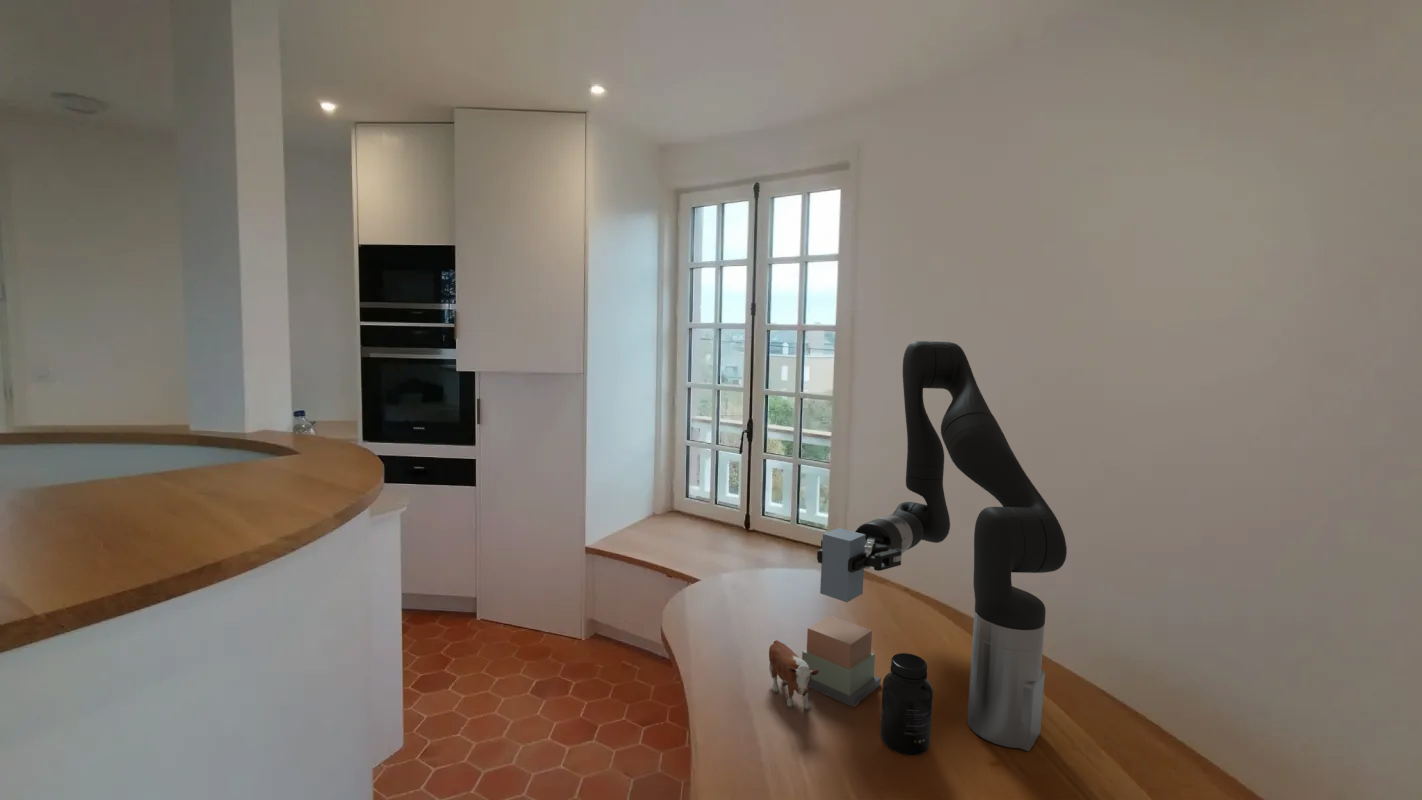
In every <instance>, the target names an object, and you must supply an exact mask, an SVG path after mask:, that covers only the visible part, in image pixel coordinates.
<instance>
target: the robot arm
mask: <svg viewBox="0 0 1422 800" xmlns="http://www.w3.org/2000/svg"><path fill="white" fill-rule="evenodd" d="M902 358H903V359H902V384H903V385H902V387H903V400H904V413H905V414H904V415H905V423H906V436H907V437H906V439H907V441H906V442H907V447H906V448H907V452H906V453H907V454H906V466H905V467H906V469H905V471H906V472H905V486H906V488H907V490H909V491H911V492H912V493H915V494H917V495H919V496H920V497H922V498H923V499H924V501H925V503H926V504H925V503H918V502H914V501H904V502H901V503H899V504H898V505H897V507H896V508H895V510H894V511H893V513H892V514H889V515H885V516H880V517H878V518H876V519H873V520H871V521H868V522H866V523H863V524H861V525H860V526H858V528H856V530H855V531H854V532H857V533H861V534H865V535H866V536H865V551H863V554H858V555H856V556H854V557H852V558H850V559H849V560H848V572H851V573H854V572H856V571H859V570H861V569H863V568H864V570H869V569H870V568H871V567H872V568H873V570H874V571H877V572H882V571H883V570H888V569H891V568H895V567H896V568H897V567H900V566H902V556H903V554H904V553H906V552H907V551H908V550H910V549H912V548H914V547H915V546H917V545H918V544H919V543H920V542H921V541H926V542H929V543H934V544H938V543H942V542H944V540H945V539H947V537H948V535H949V533H950V528H951V520H950V515H949V514H950V513H949V510H948V505H947V501H946V498H945V497H946V496H945V492H944V471H945V469H944V468H945V450H944V446H943V444H942V441H943V443H944V445H945V448H946V450H947V452H948V455H949V457H950V459H951V461H952V463H953V465H954V466H955V467H956V468H957V469H958V470H959V471H960V472H961V473H962V474H964V475H965V476H966V477H967V478H968V479H969V480H971V481H972V482H974V483H975V484H977V485H978V486H980V488H982V489H983V490H985V491H986V492H988V493H989V494H990V495H992V497H994V499H996V500H997V501H998V502H999V503H1000V504H1001V506H988V507H987V506H986V507H985V508H983V509H982V510H980V512H979V514H978V515H977V517H976V521H975V524H974V525H975V526H974V534H973V592H974V612H973V613H974V614H973V628H972V644H971V657H970V659H971V660H970V671H969V672H970V673H969V675H970V676H969V689H968V690H969V691H968V701H967V702H968V704H967V721H966V722H967V724H968V726H969V727H970V729H971V730H972V731H973V732H974V733H975V734H976V735H978V736H979V737H981V738H982V739H984V740H986V741H988V742H991V743H993V744H995V745H998V746H1002V747H1006V748H1011V749H1014V748H1015V749H1021V750H1023V751H1026V752H1030V750H1031V749H1032V747H1033V745H1034V744H1035V743H1036V740H1038V738H1039V736H1040V735H1041V730H1042V729H1041V727H1042V715H1043V706H1044V705H1043V704H1044V703H1043V702H1044V689H1045V677H1046V674H1045V673H1046V672H1045V671H1044V670H1043V669H1042V663H1043V662H1042V661H1043V650H1044V649H1043V647H1044V636H1045V635H1044V634H1045V625H1046V624H1045V623H1046V606H1045V604H1044V602H1043V601H1042V600H1041V599H1040V598H1039V597H1037V596H1036V595H1034V594H1033V593H1030V592H1028V591H1027V590H1023V589H1020V588H1018V587H1016V586H1013V585H1012V573H1015V574H1017V573H1022V574H1031V573H1033V574H1042V573H1051V572H1052V573H1053V572H1055V571H1057V570H1060V569H1061V568H1062V567H1063V566H1064V564H1065V562H1066V559H1067V552H1068V551H1067V550H1068V548H1067V542H1066V538H1065V533H1064V530H1063V528H1062V526H1061V524H1060V522H1059V520H1058V518H1057V516H1056V514H1055V513H1054V511H1053V510H1052V509H1051V507H1050V506H1049V505H1048V503H1047V502H1046V500H1045V499H1044V498H1043V496H1042V495H1041V493H1040V492H1039V491H1038V489H1037V488H1036V487H1035V485H1034V483H1032V481H1031V479H1030V478H1029V476H1028V475H1027V474H1026V472H1025V470H1024V469H1023V467H1022V466H1021V463H1020V462H1019V460H1018V459H1017V457H1016V455H1015V453H1014V451H1013V450H1012V448H1011V446H1010V445H1009V443H1008V440H1007V438H1006V436H1005V434H1004V432H1003V430H1002V429H1001V427H1000V424H999V423H998V421H997V419H996V418H995V416H994V415H993V413H992V411H991V409H990V408H989V405H988V404H987V402H986V401H985V398H984V396H983V394H982V392H981V390H980V388H979V386H978V382H977V381H976V378H975V376H974V373H973V370H972V368H971V365H970V361H969V359H968V357H967V355H966V354H965V351H964V350H963V348H962V347H961V346H960V345H959V344H957V343H954V342H951V341H950V342H949V341H933V340H932V341H930V340H918V341H917V340H916V341H912V342H910V343H909V344H907V347H906V348H905V351H904V354H903V357H902ZM924 389H938V390H939V389H941V390H946V391H947V392H949V393H950V395H951V398H952V400H951V402H950V404H949V406H948V408H947V410H946V412H945V413H944V416H943V417H942V419H941V424H940V434H941V438H942V441H941V438H940V436H939V435H938V432H937V431H936V429H935V427H934V426H933V424H932V422H931V420H930V418H929V416H928V413H927V410H926V408H925V403H924ZM822 541H823V538H822V539H820V549H818V550H817V554H816V555H817V556H816V560H817V563H819V564H821V563H822Z"/></svg>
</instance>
